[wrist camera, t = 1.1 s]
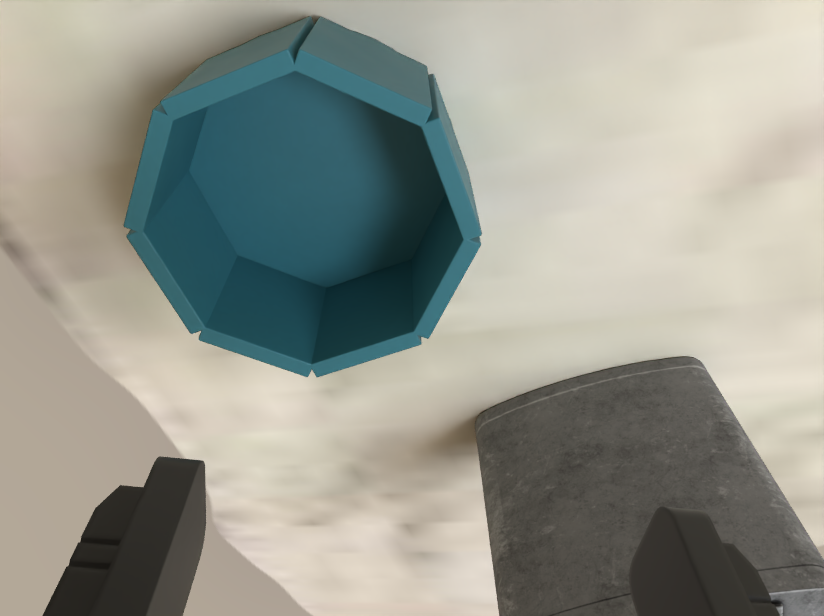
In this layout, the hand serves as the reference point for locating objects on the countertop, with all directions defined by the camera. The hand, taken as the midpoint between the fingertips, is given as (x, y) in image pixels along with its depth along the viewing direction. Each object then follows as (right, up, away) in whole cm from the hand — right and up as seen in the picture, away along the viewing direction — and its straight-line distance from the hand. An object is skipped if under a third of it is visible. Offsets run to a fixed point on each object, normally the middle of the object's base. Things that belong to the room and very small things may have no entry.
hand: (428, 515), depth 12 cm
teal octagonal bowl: (-5, +11, +22) cm, 25 cm away
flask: (+10, -2, +30) cm, 32 cm away
